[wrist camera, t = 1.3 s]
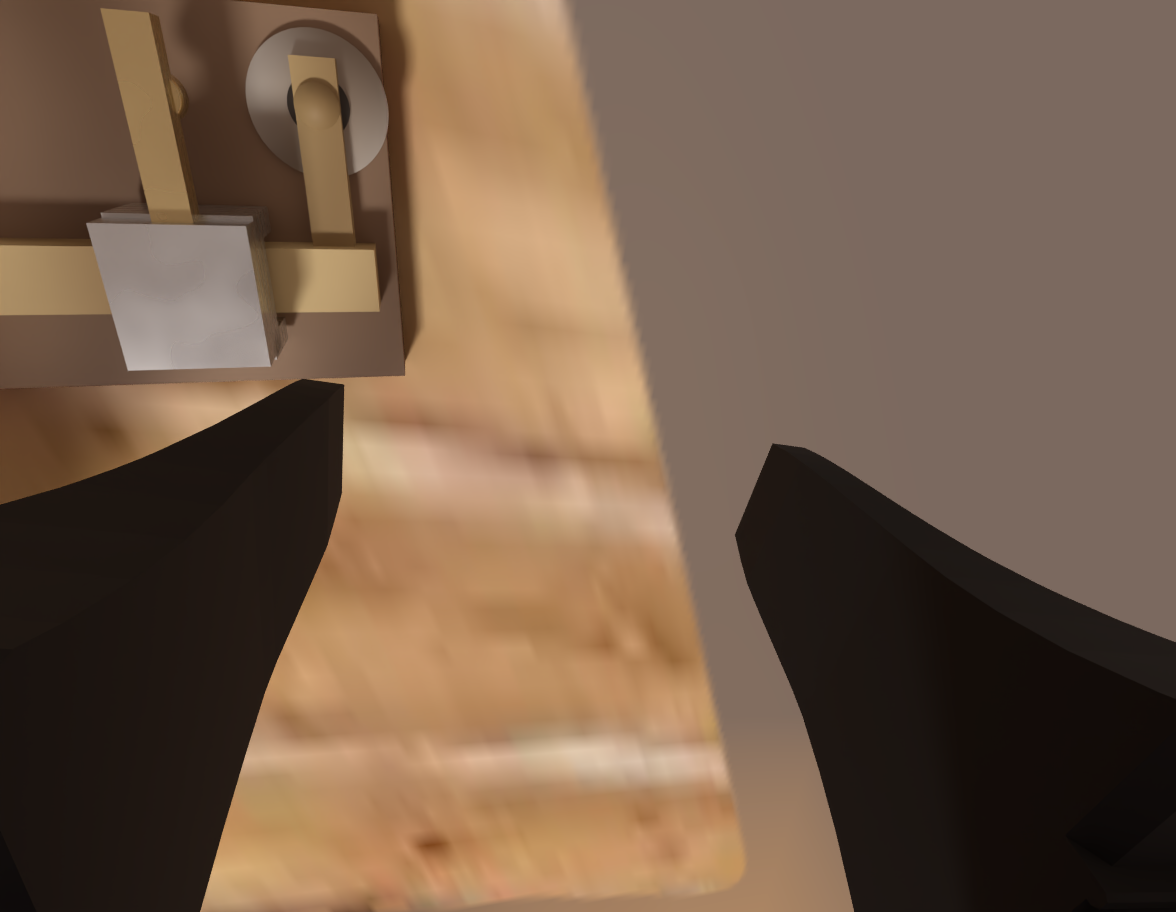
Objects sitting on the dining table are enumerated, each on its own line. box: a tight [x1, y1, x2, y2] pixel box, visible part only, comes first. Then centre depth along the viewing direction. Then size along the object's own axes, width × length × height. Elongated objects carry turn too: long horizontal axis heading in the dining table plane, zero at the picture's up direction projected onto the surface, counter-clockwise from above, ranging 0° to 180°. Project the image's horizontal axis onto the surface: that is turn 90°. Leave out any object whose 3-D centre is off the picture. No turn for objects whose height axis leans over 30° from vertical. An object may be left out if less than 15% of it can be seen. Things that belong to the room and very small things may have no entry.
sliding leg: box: [86, 8, 288, 371], centre depth 15 cm, size 3×7×3 cm, turn 177°
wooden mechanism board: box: [0, 0, 405, 389], centre depth 16 cm, size 14×9×2 cm, turn 87°
